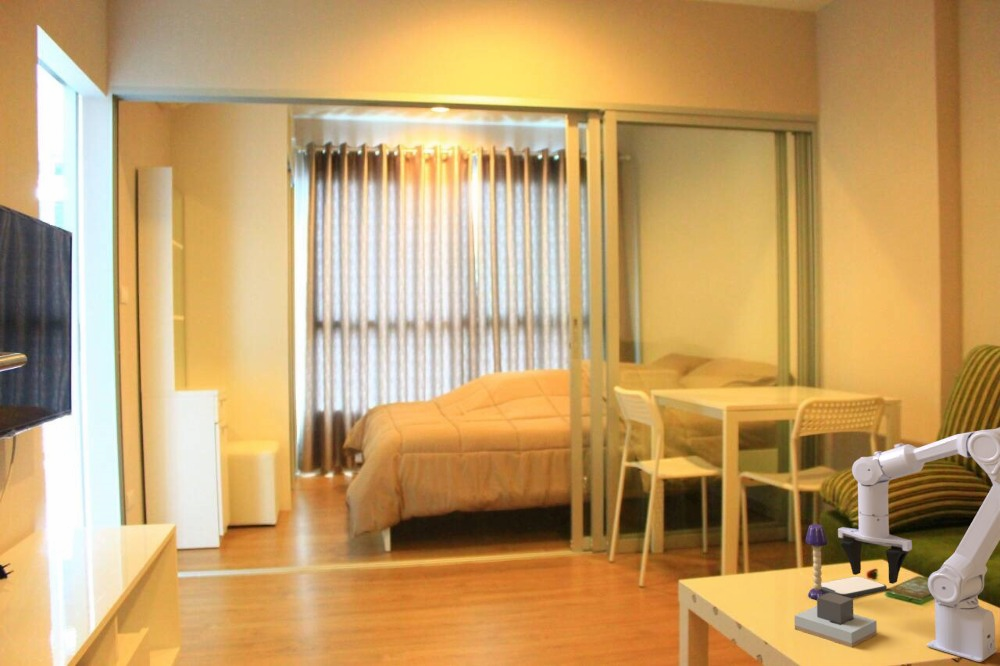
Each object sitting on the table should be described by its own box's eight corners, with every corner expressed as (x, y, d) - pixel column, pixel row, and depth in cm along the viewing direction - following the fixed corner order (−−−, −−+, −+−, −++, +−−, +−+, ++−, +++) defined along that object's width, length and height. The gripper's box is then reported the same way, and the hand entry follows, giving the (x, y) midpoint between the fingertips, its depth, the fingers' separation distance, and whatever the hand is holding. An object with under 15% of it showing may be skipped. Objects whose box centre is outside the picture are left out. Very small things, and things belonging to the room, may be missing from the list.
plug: (853, 626, 154) (853, 598, 154) (841, 632, 150) (840, 604, 151) (830, 619, 158) (829, 592, 158) (817, 624, 154) (816, 597, 154)
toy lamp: (830, 601, 171) (829, 528, 171) (808, 600, 172) (807, 527, 172) (825, 594, 176) (824, 523, 176) (804, 593, 177) (803, 522, 177)
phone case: (857, 581, 187) (811, 590, 180) (857, 575, 187) (811, 584, 180) (889, 592, 179) (842, 602, 172) (889, 585, 179) (842, 595, 172)
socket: (876, 634, 152) (876, 620, 152) (851, 647, 146) (851, 632, 146) (820, 617, 162) (820, 604, 162) (794, 628, 156) (794, 615, 156)
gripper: (918, 516, 155) (919, 582, 155) (849, 504, 167) (850, 566, 167) (902, 522, 151) (903, 589, 151) (832, 509, 162) (833, 572, 162)
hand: (874, 578), depth 158 cm, fingers open, 7 cm apart
